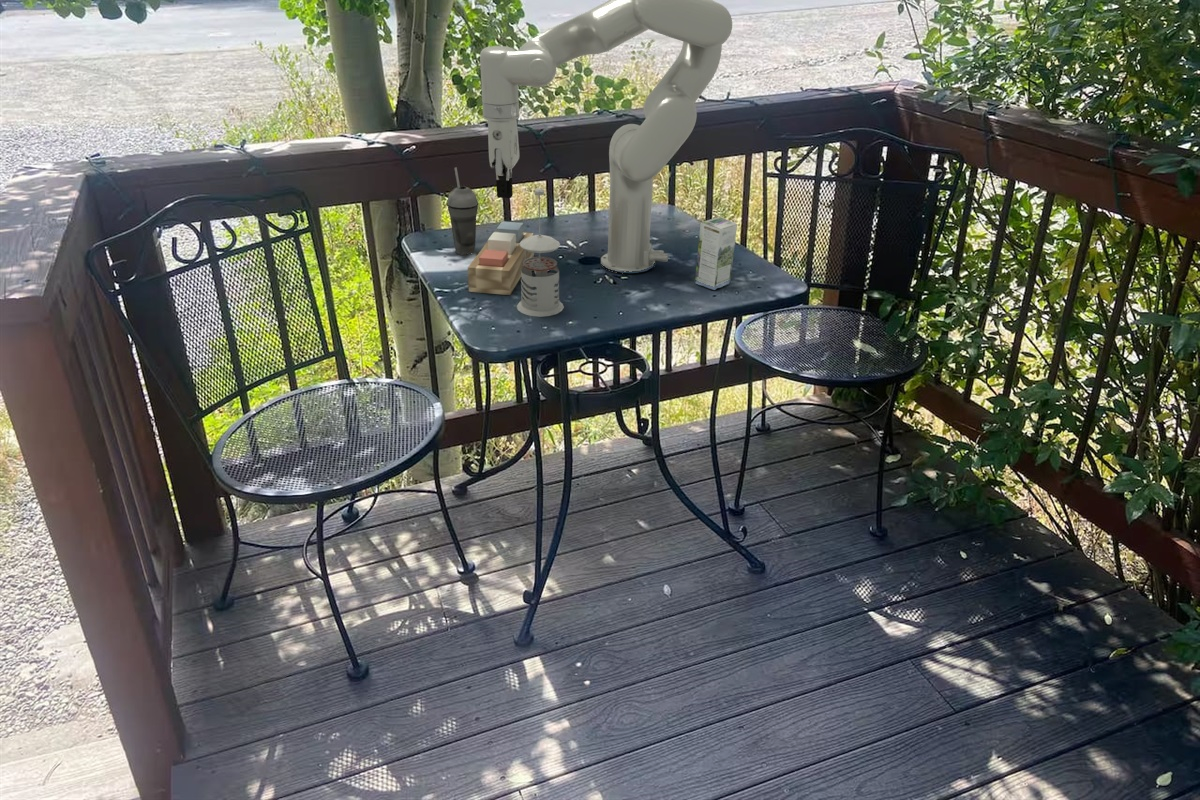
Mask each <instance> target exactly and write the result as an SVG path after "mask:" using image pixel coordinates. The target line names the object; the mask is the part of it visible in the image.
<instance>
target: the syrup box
mask: <svg viewBox="0 0 1200 800" xmlns="http://www.w3.org/2000/svg"><path fill="white" fill-rule="evenodd" d="M699 227H700V228H699V235H698V236H699V237H698V247H697V254H696V255H697V256H696V265H695V266H696V267H695V275H694V276H695V277H694V281H695V280H697V281H699V282H701V283H704V284H706V285H710V286H713V287H716V286H718V285H719V284H722V283H724V282H726V281H728V280H730V281H731V278H732V268H733V263H734V261H733V260H734V253H735V246H736V245H735V244H736V236H737V228H738V224H737V223H736V222H734V221H732V220H729V219H727V218H723V217H720V216H719V217H718V216H717V217H716V216H715V217H714V218H711V219H707V220H705V221H702V222H700V226H699Z"/></svg>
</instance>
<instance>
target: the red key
mask: <svg viewBox="0 0 1200 800" xmlns="http://www.w3.org/2000/svg"><path fill="white" fill-rule="evenodd" d="M507 261H508V251H496V250H485V251H484V252H483V253H482V255H481V256H480V257H479V265H481V266H493V267H504V266H505V264H506V263H507Z"/></svg>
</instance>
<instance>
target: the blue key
mask: <svg viewBox="0 0 1200 800" xmlns="http://www.w3.org/2000/svg"><path fill="white" fill-rule="evenodd" d="M496 230H497V232H500V233H513V234H516V243H520V242H521V240H522V239H523V237H524V236H523V232H524V222H514V221H503V220H502V221H501V222H500V224H499V225H498V226H497V228H496Z"/></svg>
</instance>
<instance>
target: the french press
mask: <svg viewBox="0 0 1200 800" xmlns="http://www.w3.org/2000/svg"><path fill="white" fill-rule="evenodd" d="M534 195H535V196H538V234H534V235H533V236H530V237H528V238H526V239H524V240H522V241H521V242H520V243H519V244H520V246H521V247H522V248H523V249H524V250H525V260H524V261H523V262H522V264H523V267H522V269H521V278H520V282H521V283H520V287H521V289H520V290H521V291H520V292H521V293H520V294H521V296H520V297H521V299H520V301H519V302H518V304H517V305H516V309H517V311H519V312H520V313H521V314H524V315H527V316H530V317H538V318H539V317H550V316H554V315H558V314H559V313H561V312H562V311H564V310H563V309H564V308H565V306H564V304H563V303H562V301H561V300H560V283H559V282H560V269H559V267H558V266H557V265H558V264H559V263H558V261H557V260H555V259H554V258H552V257H549V256H542V255H541V254H545V253H551V252H554V251H557V250H558V249H559V248H560V246H561V243H560V241H558V240H556V239H555V238H554V237H552V236H550V235H545V234H541V196H544V195H545V191H544V189H543V188H540V187H538V188H536V189H535V190H534ZM526 251H529V252H532V257H531V258H527V259H526ZM535 253H537V254H538V256H535ZM533 255H534V256H533ZM533 271H534V275H535V276H533ZM549 271H555V272H556V273H555V272H549ZM533 288H535V289H533Z"/></svg>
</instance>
